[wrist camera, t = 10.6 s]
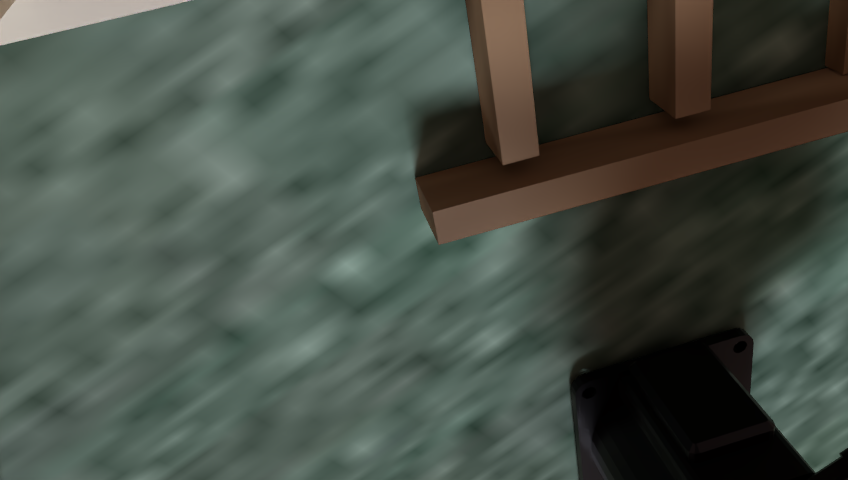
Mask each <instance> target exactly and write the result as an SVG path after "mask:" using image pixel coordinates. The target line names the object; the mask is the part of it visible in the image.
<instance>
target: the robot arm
mask: <svg viewBox="0 0 848 480" xmlns="http://www.w3.org/2000/svg"><path fill="white" fill-rule="evenodd" d="M752 358H753V339H752V338H751V337H750V336H749V335H748V333H747V332H746V331H745V330H744V329H740V328H737V329H732V330H729V331H726V332H722V333H719V334H716V335H712V336H709V337H706V338H702V339H699V340H696V341H692V342H689V343H686V344H682V345H679V346H676V347H673V348H669V349H666V350H663V351H659V352H656V353H653V354H649V355H646V356H643V357H639V358H636V359H633V360H629V361H626V362H623V363H619V364H616V365H613V366H609V367H606V368H603V369H599V370H596V371H593V372H589V373H586V374H583V375H581V376H579V377H577V378H576V379H575V380H574V381H573V383H572V385H571V397H572V407H573V417H574V427H575V438H576V448H577V458H578V468H579V479H580V480H848V448H847V449H845V450H844V451H842V452H841V453H839V454H840V456H841V457H839V458H838V459H836V460H835V461H833V462H832V463H830V464H829V465H827V466H826V467H824V468H823V469H821V470H820V471H818V472H817V473H815V472H814V470H813V469H812V468H811V467H810V466H809V465H808V463H807V462H806V461H805V460H804V459H803V458H802V456H801V455H800V454H799V453H798V452H797V451H796V449H795V448H794V447H793V446H792V445H791V444H790V443H789V441H788V440H787V439H786V438H785V437H784V436H783V434H782V433H781V432H780V431H779V430H778V429H777V427H776V426H775V424H774V421H773V420H772V419H771V418H770V417H769V415H768V414H767V413H766V412H765V411H764V410H763V409H762V407H761V406H760V405H759V404H758V403H757V402H756V400H755V399H754V398H753V397H752V396H751V395H750V388H751V373H752ZM588 387H590V388H589V389H587V390H585V389H586V388H588ZM584 390H585V391H584Z"/></svg>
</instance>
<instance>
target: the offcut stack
mask: <svg viewBox="0 0 848 480" xmlns="http://www.w3.org/2000/svg"><path fill="white" fill-rule="evenodd" d="M825 66H827V67H829V68H831V69H833V70H835V71H837V72H839V73H841V74H843V75H844V74H847V73H848V0H830V6H829V18H828V31H827V43H826V56H825Z"/></svg>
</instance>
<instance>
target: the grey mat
mask: <svg viewBox="0 0 848 480" xmlns="http://www.w3.org/2000/svg"><path fill="white" fill-rule="evenodd" d="M187 1H191V0H15V2H14V3H13V4H12V5H11V7H10V8H9V9H8V11H7V12H6V13H5V14H4V16H3V17H2V18H1V19H0V45H4V44H9V43H13V42H17V41H21V40H26V39H30V38H34V37H38V36H42V35H47V34H51V33H55V32H59V31H64V30H68V29H72V28H76V27H81V26H85V25H89V24H93V23H98V22H102V21H106V20H110V19H114V18H119V17H123V16H127V15H131V14H136V13H140V12H144V11H148V10H153V9H157V8H161V7H165V6H170V5H174V4H178V3H182V2H187Z"/></svg>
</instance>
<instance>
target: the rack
mask: <svg viewBox="0 0 848 480" xmlns="http://www.w3.org/2000/svg"><path fill="white" fill-rule="evenodd" d="M465 1H466V8H467V15H468V22H469V29H470V36H471V43H472V49H473V56H474V63H475V70H476V77H477V84H478V91H479V98H480V105H481V112H482V119H483V126H484V133H485V140H486V143H487V145H488V146H489V147H490V149H491V150H492V151H493V153H494V154H495V155H496V156H495V157H492V158H488V159H484V160H480V161H477V162H473V163H469V164H465V165H462V166H458V167H454V168H450V169H447V170H443V171H439V172H436V173H432V174H428V175H424V176H421V177H417V178H415V180H416V185H417V189H418V194H419V199H420V204H421V209H422V211H423V213H424V215H425V217H426V219H427V221H428V223H429V226H430V228H431V230H432V232H433V234H434V236H435V238H436V240H437V242H438V244H439V245H440V244H444V243H447V242H451V241H454V240H458V239H462V238H465V237H469V236H472V235H476V234H480V233H483V232H487V231H490V230H494V229H498V228H501V227H505V226H508V225H512V224H516V223H519V222H523V221H526V220H530V219H534V218H537V217H541V216H544V215H548V214H552V213H555V212H559V211H563V210H566V209H570V208H573V207H577V206H581V205H584V204H588V203H591V202H595V201H599V200H602V199H606V198H609V197H613V196H617V195H620V194H624V193H627V192H631V191H635V190H638V189H642V188H645V187H649V186H653V185H656V184H660V183H663V182H667V181H671V180H674V179H678V178H681V177H685V176H689V175H692V174H696V173H700V172H703V171H707V170H710V169H714V168H718V167H721V166H725V165H728V164H732V163H736V162H739V161H743V160H746V159H750V158H754V157H757V156H761V155H764V154H768V153H772V152H775V151H779V150H782V149H786V148H790V147H793V146H797V145H800V144H804V143H808V142H811V141H815V140H818V139H822V138H826V137H829V136H833V135H837V134H840V133H844V132H847V131H848V73H847V74H844V75H843V74H841V73H839V72H837V71H835V70H833V69H831V68H829V67H828V68H824V69H821V70H817V71H813V72H810V73H806V74H802V75H798V76H795V77H791V78H787V79H783V80H780V81H776V82H772V83H768V84H765V85H761V86H757V87H753V88H750V89H746V90H742V91H738V92H735V93H731V94H727V95H724V96H720V97H716V98H712V99H711V71H712V30H713V0H647V13H648V62H649V99H650V100H651V101H653V102H654V103H655V104H657V105H658V106H659V107H660V108H662V109H663V110H664V112H660V113H656V114H652V115H649V116H645V117H641V118H637V119H634V120H630V121H626V122H623V123H619V124H615V125H611V126H608V127H604V128H600V129H596V130H593V131H589V132H585V133H581V134H578V135H574V136H570V137H566V138H563V139H559V140H555V141H551V142H548V143H544V144H540V145H538V136H537V126H536V116H535V107H534V97H533V88H532V78H531V68H530V59H529V49H528V40H527V30H526V20H525V11H524V1H523V0H465Z"/></svg>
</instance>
